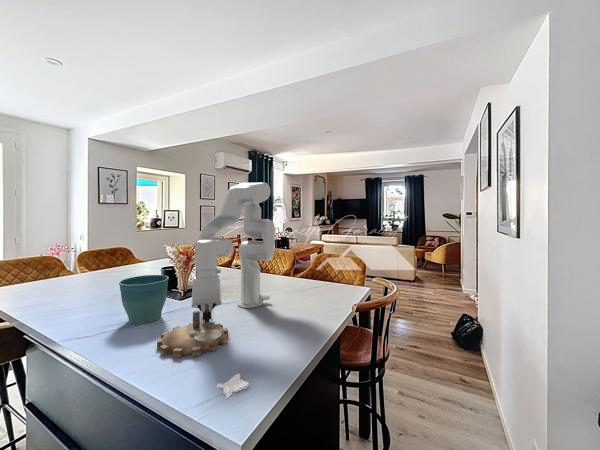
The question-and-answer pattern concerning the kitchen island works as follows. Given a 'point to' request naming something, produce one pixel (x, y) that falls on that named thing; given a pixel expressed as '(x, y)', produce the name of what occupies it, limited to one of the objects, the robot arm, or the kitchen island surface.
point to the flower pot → (144, 297)
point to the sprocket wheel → (192, 338)
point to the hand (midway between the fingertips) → (207, 321)
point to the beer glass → (202, 315)
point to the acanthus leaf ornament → (233, 385)
